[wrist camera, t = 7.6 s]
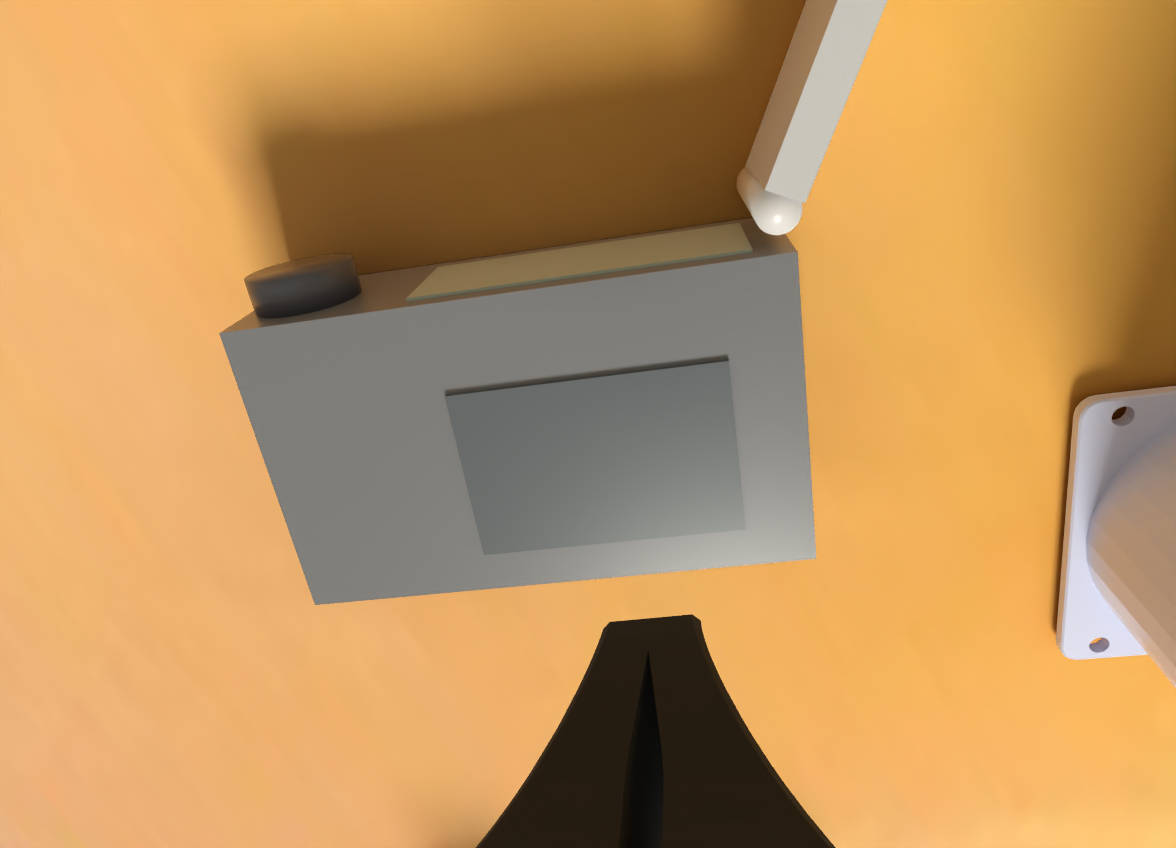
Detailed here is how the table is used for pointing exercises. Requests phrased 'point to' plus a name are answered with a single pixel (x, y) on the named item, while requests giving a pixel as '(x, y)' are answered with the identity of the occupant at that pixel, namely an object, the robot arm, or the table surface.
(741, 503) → the camera body
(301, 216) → the table surface
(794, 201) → the side door
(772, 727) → the table surface
